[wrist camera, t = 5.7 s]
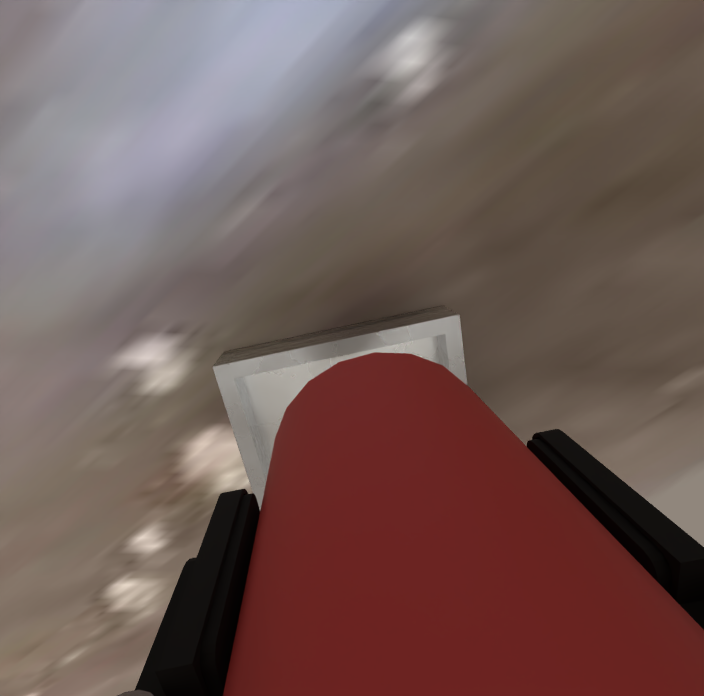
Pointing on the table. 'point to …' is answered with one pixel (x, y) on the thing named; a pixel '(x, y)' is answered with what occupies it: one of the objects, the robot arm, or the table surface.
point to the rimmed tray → (319, 372)
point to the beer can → (439, 558)
